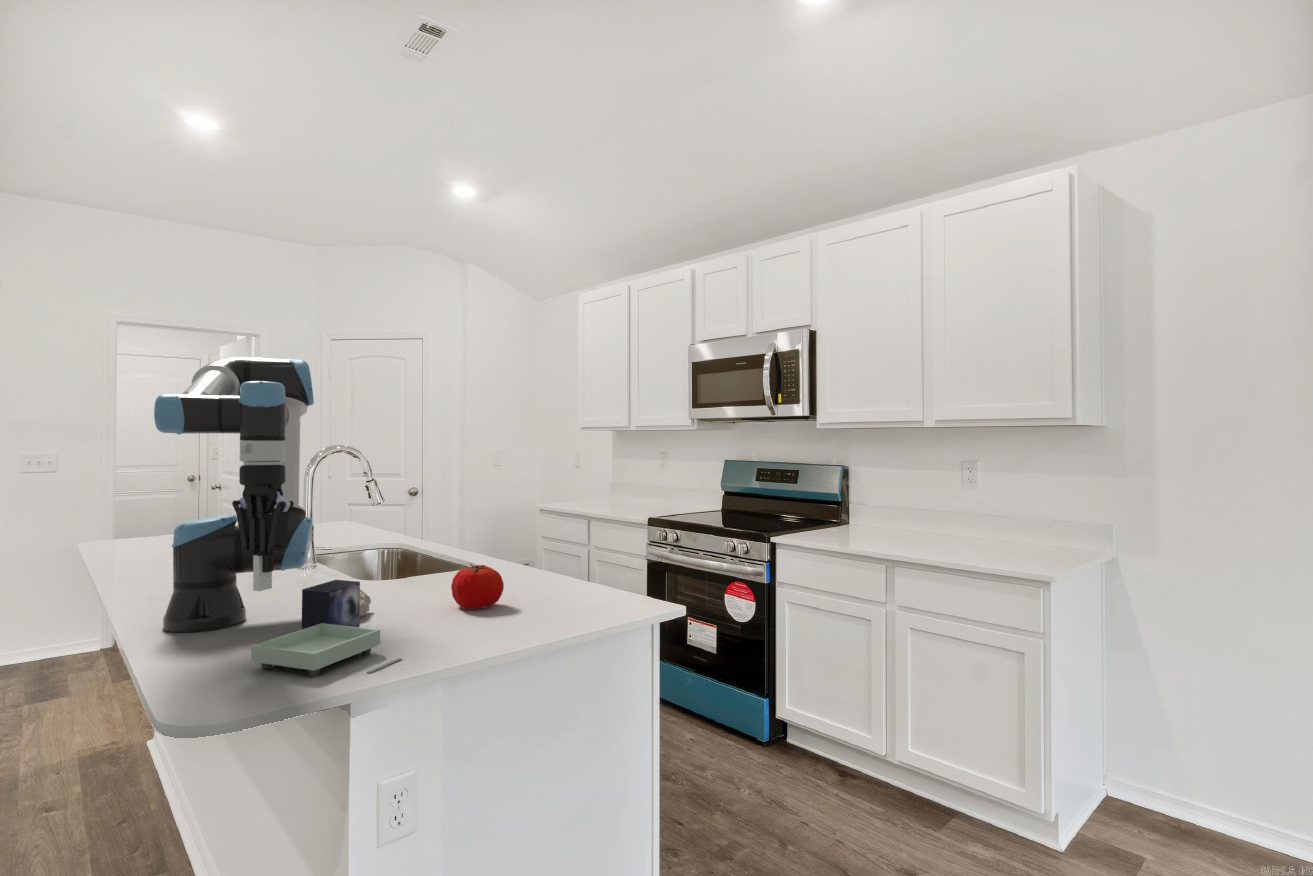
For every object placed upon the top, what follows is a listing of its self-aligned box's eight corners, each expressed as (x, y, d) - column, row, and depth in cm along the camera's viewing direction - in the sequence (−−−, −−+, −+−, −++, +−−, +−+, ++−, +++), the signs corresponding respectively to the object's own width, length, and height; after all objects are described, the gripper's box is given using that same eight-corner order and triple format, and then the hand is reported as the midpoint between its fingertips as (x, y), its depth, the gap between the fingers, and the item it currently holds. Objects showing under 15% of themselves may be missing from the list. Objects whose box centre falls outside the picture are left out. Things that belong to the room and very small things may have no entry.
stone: (372, 629, 158) (379, 587, 163) (351, 616, 147) (359, 571, 152) (338, 630, 158) (346, 588, 162) (315, 617, 147) (324, 572, 151)
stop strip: (366, 673, 117) (366, 671, 117) (398, 659, 125) (398, 658, 125) (370, 673, 117) (370, 672, 117) (402, 659, 125) (402, 658, 125)
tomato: (461, 601, 170) (461, 560, 170) (510, 602, 169) (509, 561, 169) (440, 612, 159) (440, 568, 159) (492, 614, 158) (492, 569, 158)
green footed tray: (251, 670, 119) (251, 645, 119) (321, 645, 133) (321, 623, 133) (314, 680, 114) (314, 653, 114) (380, 653, 129) (380, 629, 129)
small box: (328, 643, 135) (328, 590, 135) (299, 642, 136) (299, 589, 136) (361, 629, 145) (361, 580, 145) (334, 627, 146) (334, 579, 146)
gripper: (218, 464, 127) (218, 591, 127) (271, 464, 123) (271, 595, 122) (254, 463, 134) (254, 583, 134) (305, 463, 130) (305, 587, 129)
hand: (262, 589), depth 128 cm, fingers closed
